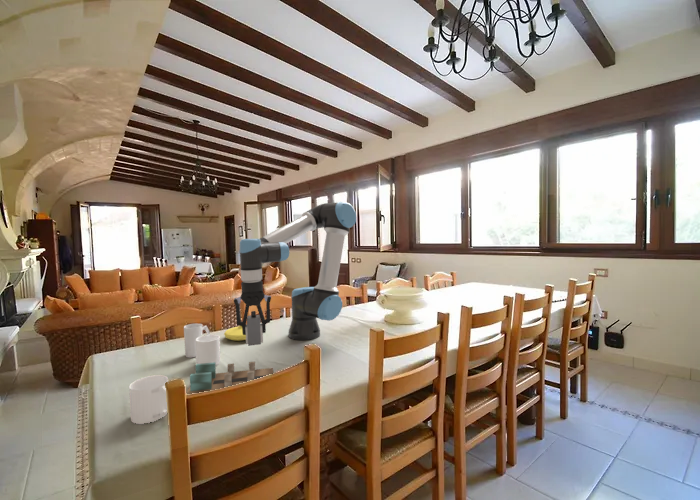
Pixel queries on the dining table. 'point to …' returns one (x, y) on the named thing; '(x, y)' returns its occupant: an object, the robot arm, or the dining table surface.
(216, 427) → the dining table surface
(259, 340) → the block
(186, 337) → the mug
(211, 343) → the cup
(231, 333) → the yellow pattypan squash
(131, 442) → the dining table surface
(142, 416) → the mug
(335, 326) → the dining table surface
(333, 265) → the robot arm
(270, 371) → the board
